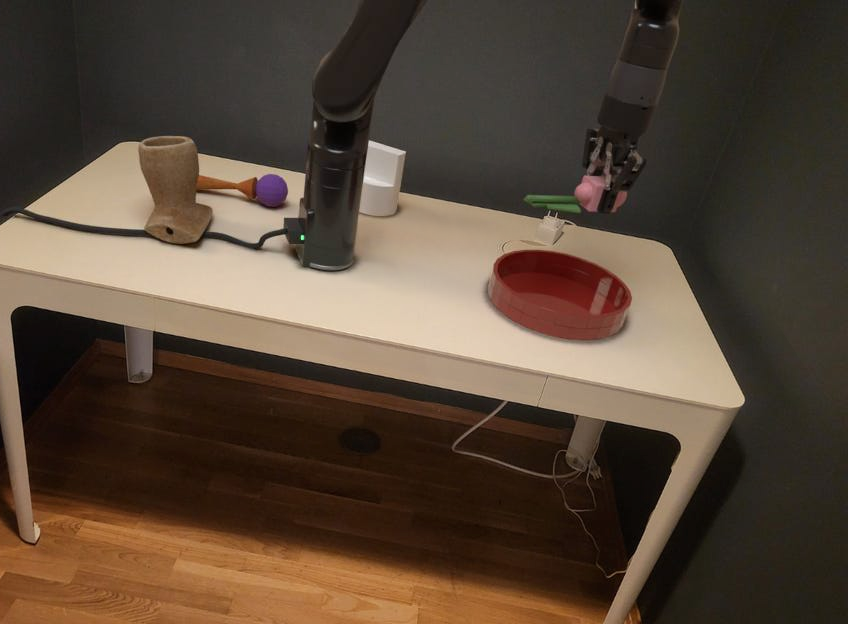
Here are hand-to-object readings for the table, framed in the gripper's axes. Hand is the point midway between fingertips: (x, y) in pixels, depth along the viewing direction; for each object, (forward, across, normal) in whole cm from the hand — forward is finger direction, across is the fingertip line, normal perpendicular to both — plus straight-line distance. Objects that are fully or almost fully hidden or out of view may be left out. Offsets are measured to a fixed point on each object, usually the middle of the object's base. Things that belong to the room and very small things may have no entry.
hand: (595, 205), depth 117 cm
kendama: (+17, -39, -51) cm, 66 cm away
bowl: (+16, +3, -4) cm, 17 cm away
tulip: (0, 0, -4) cm, 4 cm away
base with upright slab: (+17, -36, -24) cm, 47 cm away
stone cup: (+17, -26, -63) cm, 70 cm away
